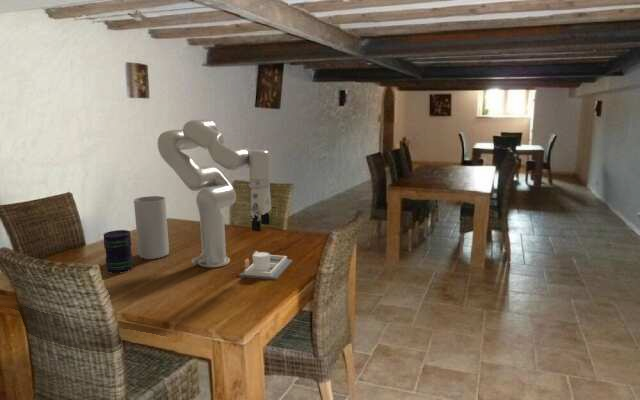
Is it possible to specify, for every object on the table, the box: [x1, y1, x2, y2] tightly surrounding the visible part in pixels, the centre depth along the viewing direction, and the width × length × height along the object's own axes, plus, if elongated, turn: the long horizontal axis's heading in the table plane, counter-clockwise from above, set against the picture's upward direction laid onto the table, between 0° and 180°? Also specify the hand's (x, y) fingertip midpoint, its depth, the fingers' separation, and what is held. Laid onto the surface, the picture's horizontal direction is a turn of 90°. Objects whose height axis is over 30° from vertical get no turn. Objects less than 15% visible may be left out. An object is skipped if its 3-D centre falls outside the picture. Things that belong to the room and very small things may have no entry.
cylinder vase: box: [133, 195, 170, 260], centre depth 200 cm, size 12×12×25 cm
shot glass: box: [251, 251, 271, 272], centre depth 179 cm, size 7×7×7 cm
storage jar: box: [103, 229, 134, 274], centre depth 184 cm, size 10×10×15 cm
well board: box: [238, 250, 293, 281], centre depth 185 cm, size 21×15×5 cm
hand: (261, 227), depth 177 cm, fingers open, 9 cm apart
